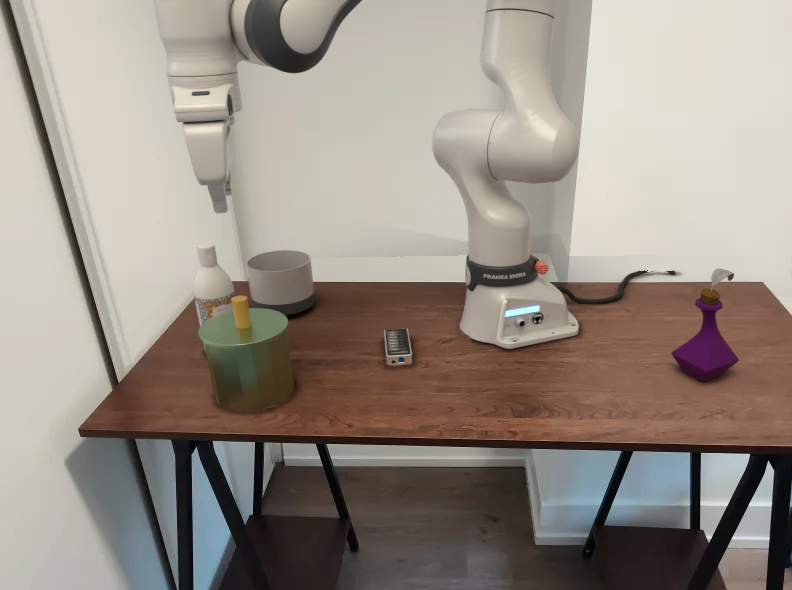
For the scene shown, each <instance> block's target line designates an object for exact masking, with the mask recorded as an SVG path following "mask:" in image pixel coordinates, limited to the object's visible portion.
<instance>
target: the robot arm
mask: <svg viewBox="0 0 792 590" xmlns="http://www.w3.org/2000/svg"><path fill="white" fill-rule="evenodd" d="M362 1H363V0H153V2H154V3H153V4H154V11H155V17H156V23H157V29H158V34H159V38H160V41H161V43H162V45H163V48H164V50H165V54H166V77H167V81H168V87H169V88H168V89H169V93H170V97H171V98H170V99H171V103H172V109H173V113H174V116H175V120H176V122H177V123H182V131H183V135H184V139H185V145H186V147H187V148H186V149H187V153H188V155H189V160H190V162H191V167H192V170H193V173H194V177H195V178H196V181H197V183H198V185H200V186H207V191H208V193H209V196H210V199H211V202H212V208H213V212H214V213H215V214H225V213H228V211H229V205H228V198H227V197H228V196H229V197H230V196H231V195H232V193H233V186H232V176H231V175H232V174H231V167H232V164H233V161H234V158H235V152H236V151H235V143H234V136H233V130H232V126H233V125H235V123H236V119H235V114H236V113H238V112H240V111H242V110H243V101H242V95H241V87H240V80H239V73H238V64H239V63H240V62H241V61H244V62H246V63H249V64H252V65H258V66H262V67H270V68H272V69H275V70H277V71H279V72H283V73H285V74H286V73H287V74H301V73H304V72H307V71H309V70H311V69H313V68H314V67H316V66H317V65H318V64H320V62H321V61H322V60H323V59H324V57H325V55H326V54H327V52H328V50H329V48H330V46H331V45H332V41H333V40H334V39H335V35H336V33H337V31H338V30H339V28H340V26H341V25H342V23H343V22H344V20H345V19H346V18H347V16H349V15H350V13H352V12H353V10H354V9H355V8H356V7H357V6H358V5H359V4H360V3H361V2H362ZM557 4H558V0H486V4H485V5H486V6H485V14H484V21H483V29H482V30H483V31H482V39H481V47H480V56H479V63H480V68H481V70H482V72H483V74H484V75H485V77H486V78H487V79H488V80H489V81H491V82H492V83H493V84H494V85H496V86H497V87H499V88H500V89H501V90H502V92H503V96H504V103H505V107H504V110H498V109H497V110H496V109H483V108H482V109H481V108H467V109H460V110H455V111H450V112H446V113H445V114H443V115H442V116H441V117H440V118H439V119H438V121H437V123H436V124H435V127H434V129H433V132H432V136H431V151H432V154H433V157H434V160H435V163H437V165H438V166H439V167H440V168H441V169H442V170H443V171H444V172H445V173H446V174H447V175H448V176H449V178H450V179H451V180H452V182H453V183H454V184H455V186H456V188H457V190H458V192H459V194H460V196H461V199H462V202H463V204H464V205H463V206H464V208H465V212H466V217H467V218H466V220H467V230H468V231H467V232H468V233H467V234H468V235H467V237H468V254H467V255H466V258H465V259H466V260H465V268H464V269H465V270H464V279H465V286H466V293H465V294H466V295H465V301H464V307H463V311H462V315H461V319H460V320H459V321H460V322H459V329H460V331H461V332H462V333H463V334H465V335H466V336H468V337H469V338H470V339H472V340H474V341H478V342H480V343H487V344H491V345H496V346H498V347H499V348H503V349H506V350H512V349H516V348H522V347H526V346H531V345H536V344H541V343H547V342H550V341H556V340H561V339H566V338H570V337H574V336H577V335H578V334H579V331H580V325H579V321H578V320H577V319H576V317H575V316H574V314H573V313H572V312H570V311H569V310H568V305H567V301H566V298H565V296H564V295H563V294H565V295H567V297H568V298H569V299H570V300H571V301H572V302H575V303H577V304H583V305H584V304H587V305H589V304H590V305H600V304H606V303H610V302H615V301H618V300H619V299H621V298H622V297H623V295H624V290H625V289H624V288H625V286H626V285H627V284H628V282H629V280H630V279H633V278H634V277H637V276H641V275H644V274H648V273H649V272H647V271H648V270H647V271H645V270H644V271H640V270H637V271H633V272H630V273H628V274H627V275H626V276H624V279H622V281H621V283H620V284H619V285H618V292H617V293H616V294H614V295H611V296H608V297H603V298H592V299H591V298H590V299H589V298H581V297H578V296H576V295H575V294H574V293H573V292H572V291H571V290H570V289H568V288H567V287H563V285H562V283H561V284H560V283H556V282H551V281H549V280H547V279H546V278H545V277H543V275H546V274H547V273H548V272H549V266H548V264H546V262H544V261H543V260H540V259H539V258H538V257H537V256H535V255H534V254H532V253H531V241H532V223H533V221H532V216H531V213H530V211H529V209H528V207H526V205H524V203H522V202H521V201H519V200H518V199H517V198H516V197H515V196H514V195H513V194H512V192H511V191H510V189H509V188H508V185H507V183H506V182H507V181H508V182H515V183H516V182H517V183H523V184H534V185H536V184H549V183H554V182H555V183H556V182H561V181H563V180H564V179H565V178H567V177H568V175H570V173H571V171H572V170H573V169H574V167H575V165H576V163H577V160H578V157H579V153H580V139H579V135H578V132H577V129H576V127H575V125H574V124H573V123H572V121H571V120H570V119H569V118H568V117H567V115H565V114H564V113H563V111H562V110H561V108H560V106H559V105H558V102H557V101H556V98H555V95H554V92H553V88H552V83H551V75H550V74H551V73H550V68H551V54H552V43H553V37H554V28H555V21H556V13H557V6H558V5H557ZM652 272H654V271H651V272H650V273H652ZM665 272H667V273H668V274H670V275H671V276H677V273H676V271H675V270H674V269H673V271H665Z"/></svg>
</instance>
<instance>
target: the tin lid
mask: <svg viewBox="0 0 792 590" xmlns="http://www.w3.org/2000/svg"><path fill="white" fill-rule="evenodd" d="M248 299H249V298H248V296H247V295H235V297H233V298H232V299H231V301H232V307H233V311H228V312H225V313H222V314H219V315H216V316H214V317H212V318H210V319H208V320H207V321H205V322H204V323H203V324H202V325H201V326H200V325H199V328H198V336H199V340H200V341H202V342H204V343H206V344H208V345H210V346H214V347H219V348H246V347H252V346H257V345H261V344H264V343H267V342H270V341H272V340H274V339H276V338H278V337H280V336H281V335H282V334H283V333H284V332H285V331H286V330H287V331H288V328H289V319H288V316H285V315H284V314H282V313H280V312H278V311H275V310H271V309H264V308H253V307H250V306H249V300H248ZM204 343H203V344H204Z"/></svg>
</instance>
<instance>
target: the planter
mask: <svg viewBox="0 0 792 590" xmlns="http://www.w3.org/2000/svg"><path fill="white" fill-rule="evenodd" d="M312 266H313V265H312V258H311V256H310V254H308V253H307V252H305V251H301V250H292V249H278V250H271V251H266V252H265V251H264V252H261V253H257V254H256V255H253V256H251V257H250V258H248V259H247V260H246V261H245V268H246V275H247V281H248V287H249V294H250V300H251V301H250V302H251V306H252V307H251V308H264V309H271V310H275V311H278V312H280V313H282V314H284V315H285V316H286V317H291V316H294V315H298V314H300V313H303V312H304V311H306V310H308V309H311V307H313V305H314V304H315V303H316V293H315V287H314V286H315V284H314V278H313V277H314V276H313V267H312Z"/></svg>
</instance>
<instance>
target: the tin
mask: <svg viewBox="0 0 792 590" xmlns="http://www.w3.org/2000/svg"><path fill="white" fill-rule="evenodd" d="M204 345H205V348H204V351H205V350H206V352H205V354H206V360H207V366H208V369H209V370H208V371H209V374H210V380H211V385H212V390H213V394H214V399H215V400H216V403H217V404H218V406H219V407H221V408H223V409H224V407H225V408H228V409H230V410H235V411H254V410H262V409H266V408H268V407H271V406H275V405H278V404H279V403H281V402H282V401H284V400H286V399H287V398H289V397H290V396H291V394H292V393H293V391H294V390H295V382H294V381H295V379H294V373H293V364H292V358H291V350H290V349H291V348H290V343H289V335H288V329H287V330H286V331H285V332H284V333H283V334H282V335H281V336H280V337H278V338H276V339H274V340H272V341H270V342H267V343H264V344H261V345H257V346H252V347H246V348H219V347H214V346H210V345H208V344H206V343H203V346H204Z"/></svg>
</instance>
